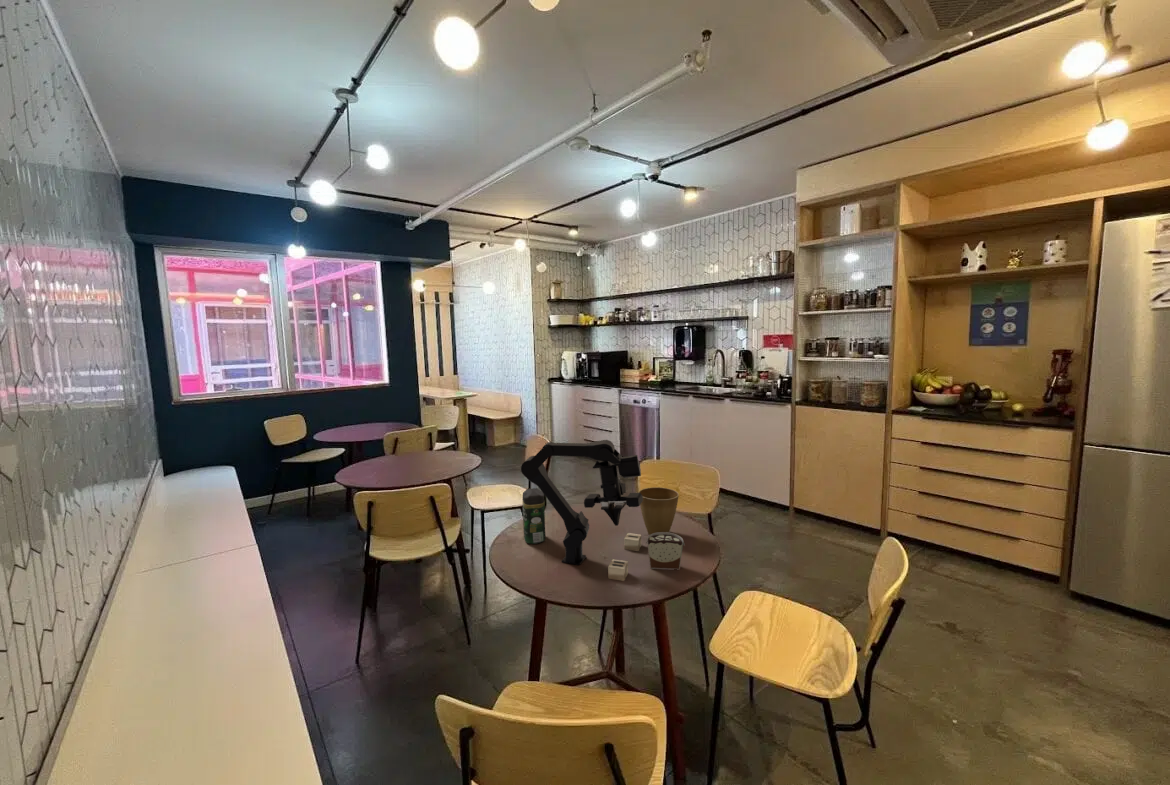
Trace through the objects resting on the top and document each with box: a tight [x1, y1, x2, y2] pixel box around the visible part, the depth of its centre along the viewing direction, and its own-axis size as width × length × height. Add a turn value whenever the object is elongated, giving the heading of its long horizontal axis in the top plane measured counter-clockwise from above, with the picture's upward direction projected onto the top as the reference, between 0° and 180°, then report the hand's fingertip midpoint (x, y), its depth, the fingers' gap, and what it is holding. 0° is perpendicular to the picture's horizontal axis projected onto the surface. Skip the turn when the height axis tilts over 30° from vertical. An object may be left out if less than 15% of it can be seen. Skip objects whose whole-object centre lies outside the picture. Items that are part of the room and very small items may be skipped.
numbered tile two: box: [607, 559, 629, 582], centre depth 147 cm, size 5×5×4 cm
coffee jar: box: [522, 487, 546, 545], centre depth 173 cm, size 10×8×19 cm
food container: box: [645, 532, 686, 571], centre depth 153 cm, size 12×6×10 cm, turn 85°
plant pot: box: [637, 486, 680, 536], centre depth 177 cm, size 15×15×16 cm
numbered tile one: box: [623, 532, 642, 552], centre depth 167 cm, size 5×5×4 cm
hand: (616, 525), depth 154 cm, fingers closed
